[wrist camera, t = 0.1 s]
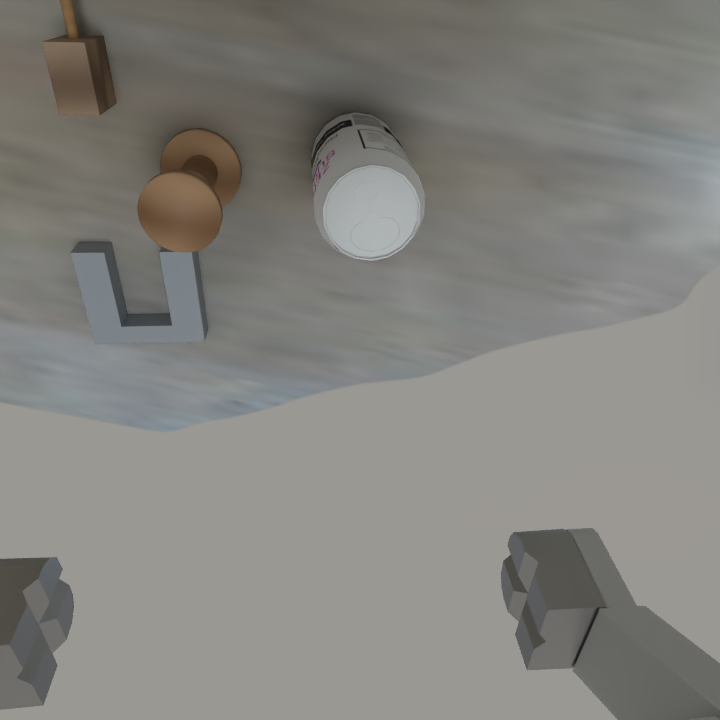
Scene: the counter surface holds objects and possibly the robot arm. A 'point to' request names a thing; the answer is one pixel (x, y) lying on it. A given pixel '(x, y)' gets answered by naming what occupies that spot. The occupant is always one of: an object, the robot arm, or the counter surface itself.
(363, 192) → the supplement can
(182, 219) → the bobbin
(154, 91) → the counter surface
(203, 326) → the notch board
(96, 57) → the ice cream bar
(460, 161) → the counter surface
